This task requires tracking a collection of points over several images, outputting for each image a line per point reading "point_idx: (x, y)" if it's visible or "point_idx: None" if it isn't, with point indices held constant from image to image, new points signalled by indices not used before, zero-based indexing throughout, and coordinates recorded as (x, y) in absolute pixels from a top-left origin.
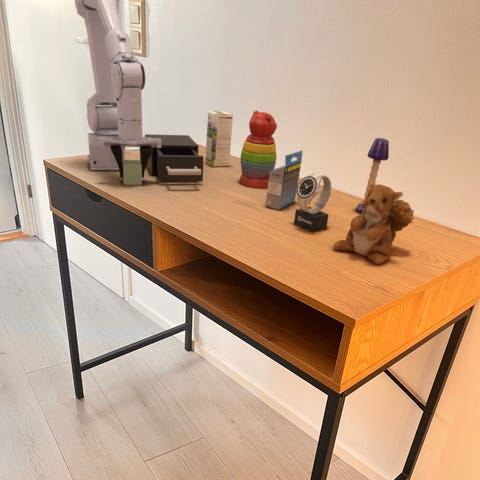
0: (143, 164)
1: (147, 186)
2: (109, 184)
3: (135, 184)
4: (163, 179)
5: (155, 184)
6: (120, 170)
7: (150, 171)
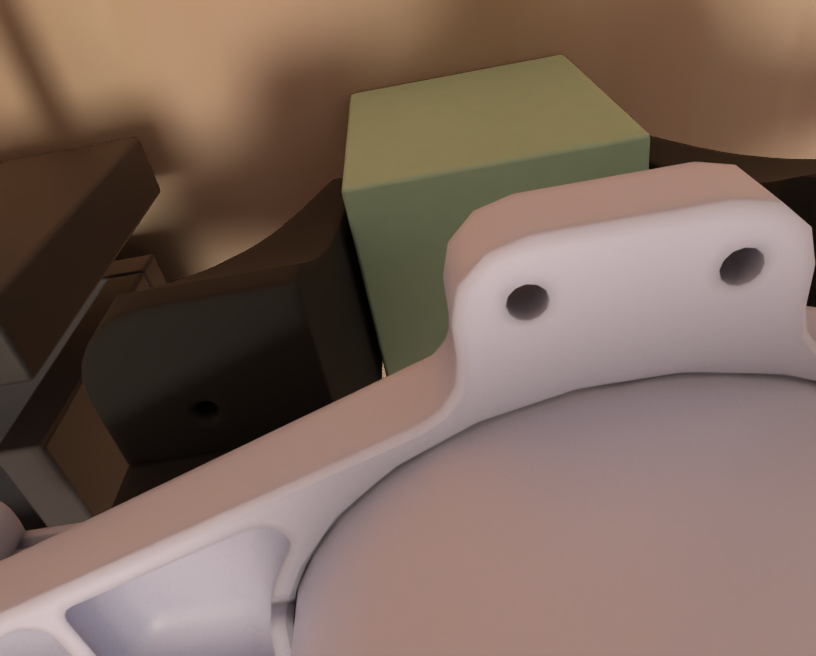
0: (314, 224)
1: (278, 41)
2: (732, 57)
3: (428, 79)
4: (74, 156)
5: (199, 145)
6: (654, 137)
7: None
